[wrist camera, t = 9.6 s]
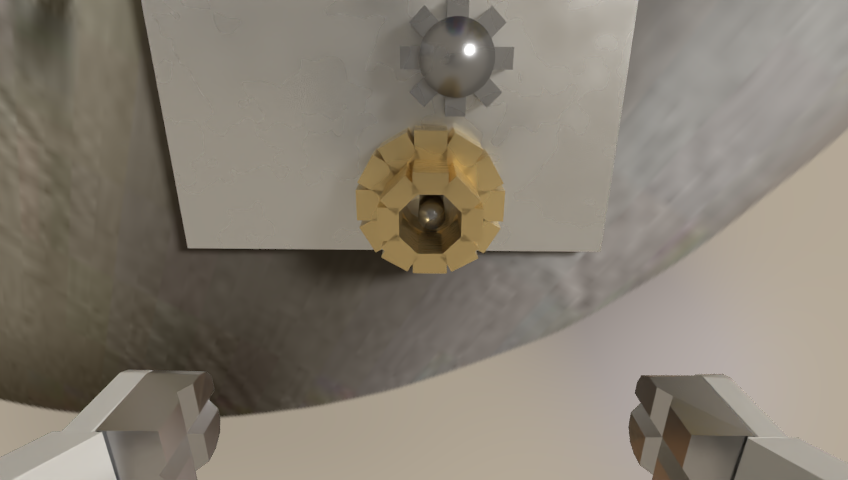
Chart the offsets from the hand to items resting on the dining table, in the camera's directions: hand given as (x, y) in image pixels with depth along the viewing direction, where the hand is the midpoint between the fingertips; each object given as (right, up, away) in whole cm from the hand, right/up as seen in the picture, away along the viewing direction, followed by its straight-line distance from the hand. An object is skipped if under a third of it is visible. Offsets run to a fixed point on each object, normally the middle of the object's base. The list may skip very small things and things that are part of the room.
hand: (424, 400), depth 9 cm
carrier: (-2, +12, +13) cm, 18 cm away
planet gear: (0, +5, +15) cm, 16 cm away
